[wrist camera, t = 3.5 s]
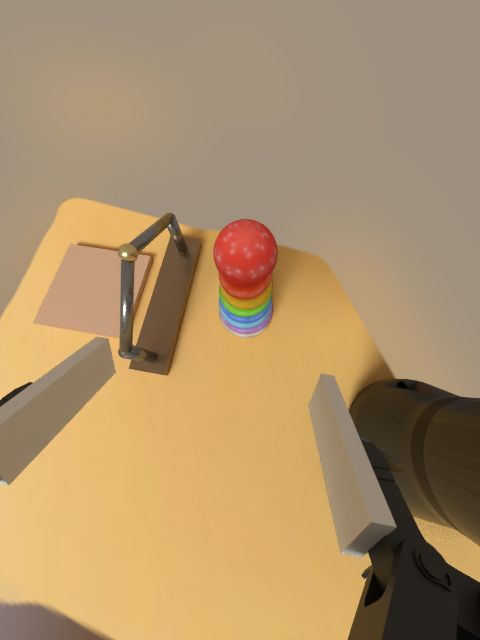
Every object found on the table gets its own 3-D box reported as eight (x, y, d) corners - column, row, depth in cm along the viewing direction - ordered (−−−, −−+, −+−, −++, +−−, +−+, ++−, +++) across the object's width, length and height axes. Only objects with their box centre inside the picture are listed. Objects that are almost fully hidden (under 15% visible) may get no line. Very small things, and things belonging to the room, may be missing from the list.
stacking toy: (231, 284, 34) (221, 173, 16) (277, 301, 33) (323, 204, 15) (211, 327, 32) (173, 257, 14) (260, 347, 31) (288, 299, 13)
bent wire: (167, 375, 30) (108, 370, 16) (134, 369, 30) (48, 359, 16) (201, 245, 36) (178, 165, 22) (173, 241, 36) (134, 159, 23)
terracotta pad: (152, 259, 35) (150, 256, 34) (126, 339, 31) (122, 338, 30) (74, 247, 36) (70, 243, 35) (39, 324, 32) (32, 322, 31)
